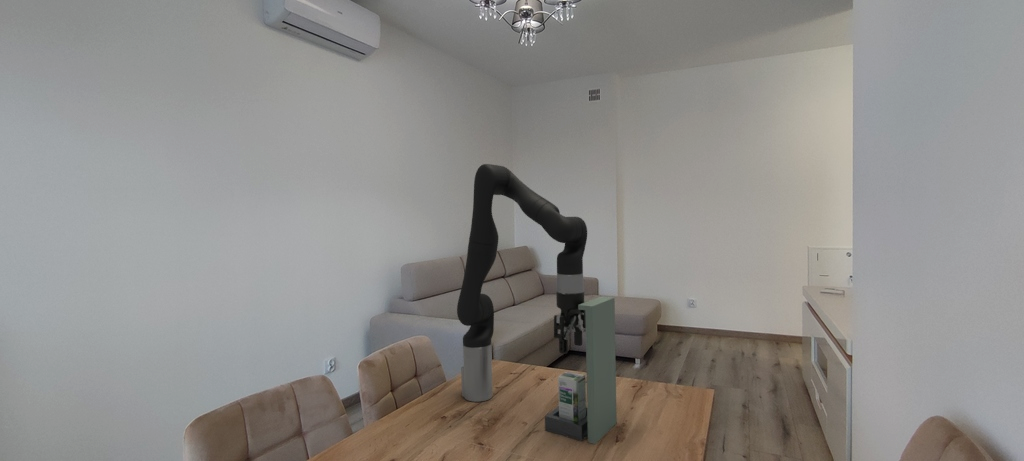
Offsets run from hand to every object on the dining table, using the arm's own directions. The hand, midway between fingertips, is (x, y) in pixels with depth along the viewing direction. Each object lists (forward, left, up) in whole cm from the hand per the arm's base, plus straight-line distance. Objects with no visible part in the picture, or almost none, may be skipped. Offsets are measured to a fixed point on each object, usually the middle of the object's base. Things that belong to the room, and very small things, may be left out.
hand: (571, 349), depth 124 cm
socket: (0, 0, -22) cm, 22 cm away
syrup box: (0, 0, -22) cm, 22 cm away
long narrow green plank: (+8, +2, -22) cm, 23 cm away
